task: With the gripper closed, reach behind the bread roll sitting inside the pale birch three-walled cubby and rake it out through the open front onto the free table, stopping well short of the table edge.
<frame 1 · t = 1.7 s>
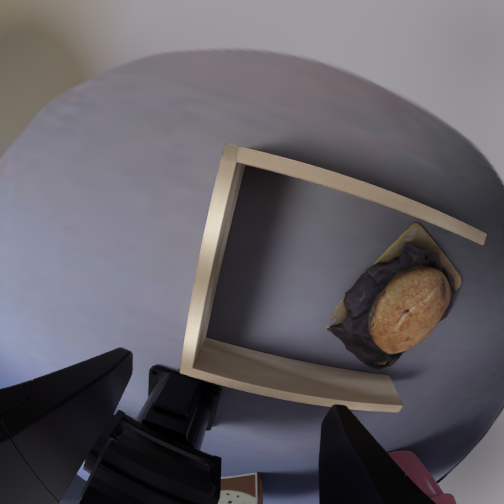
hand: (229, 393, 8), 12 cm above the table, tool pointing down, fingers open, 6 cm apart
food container: (236, 485, 28), on the table
bread roll: (395, 298, 20), on the table
plant pot: (383, 467, 25), on the table
cubby: (359, 295, 19), on the table
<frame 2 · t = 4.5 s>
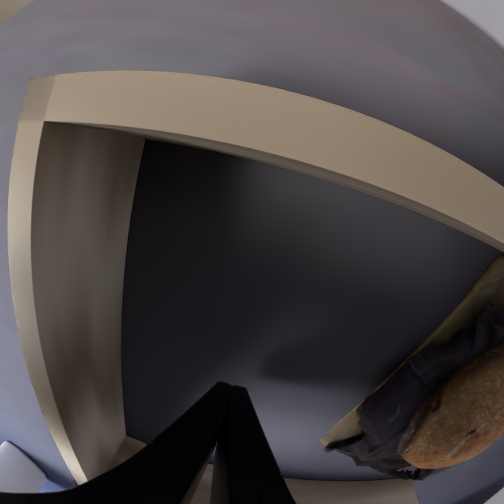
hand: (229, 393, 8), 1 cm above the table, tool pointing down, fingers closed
bread roll: (445, 385, 9), on the table
can: (26, 458, 17), on the table
cubby: (388, 399, 9), on the table
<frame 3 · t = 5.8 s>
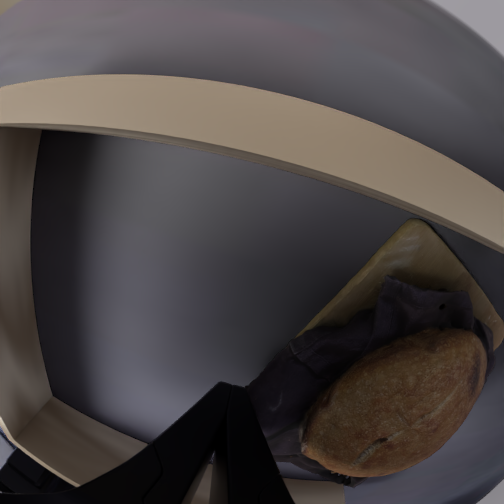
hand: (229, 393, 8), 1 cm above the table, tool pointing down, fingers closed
bread roll: (371, 379, 9), on the table, touching gripper
can: (0, 436, 17), on the table
cubby: (268, 382, 9), on the table
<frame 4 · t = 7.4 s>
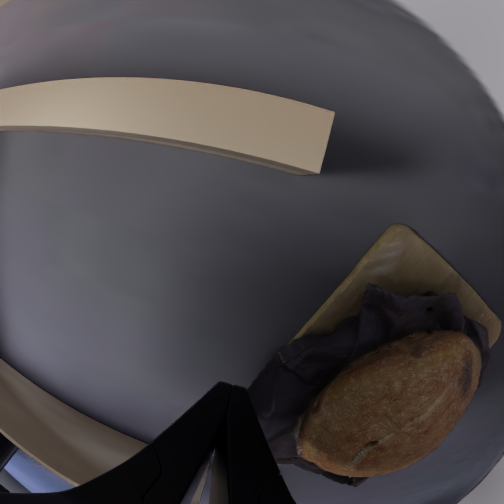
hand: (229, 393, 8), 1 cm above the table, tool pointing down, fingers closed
bread roll: (366, 381, 9), on the table, touching gripper
cubby: (84, 319, 9), on the table
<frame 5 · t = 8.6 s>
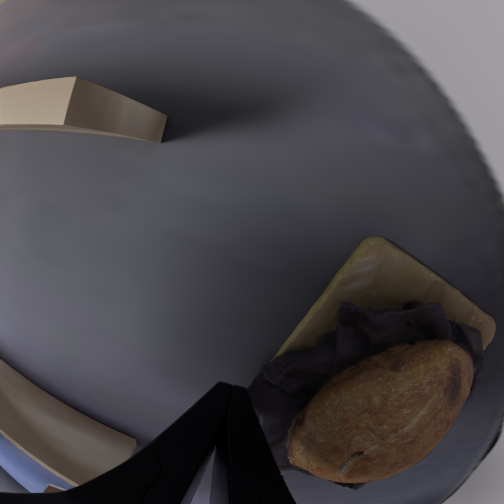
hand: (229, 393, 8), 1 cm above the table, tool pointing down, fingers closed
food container: (84, 502, 18), on the table
bread roll: (358, 389, 9), on the table
cubby: (21, 287, 9), on the table
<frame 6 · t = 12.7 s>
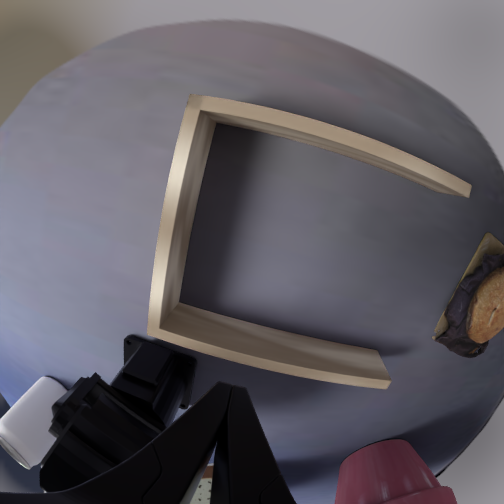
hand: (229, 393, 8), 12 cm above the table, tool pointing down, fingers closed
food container: (220, 474, 27), on the table
bread roll: (478, 297, 19), on the table
can: (60, 393, 27), on the table
plant pot: (376, 458, 25), on the table
cubby: (338, 255, 19), on the table
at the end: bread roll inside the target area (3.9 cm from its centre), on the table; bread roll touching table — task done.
